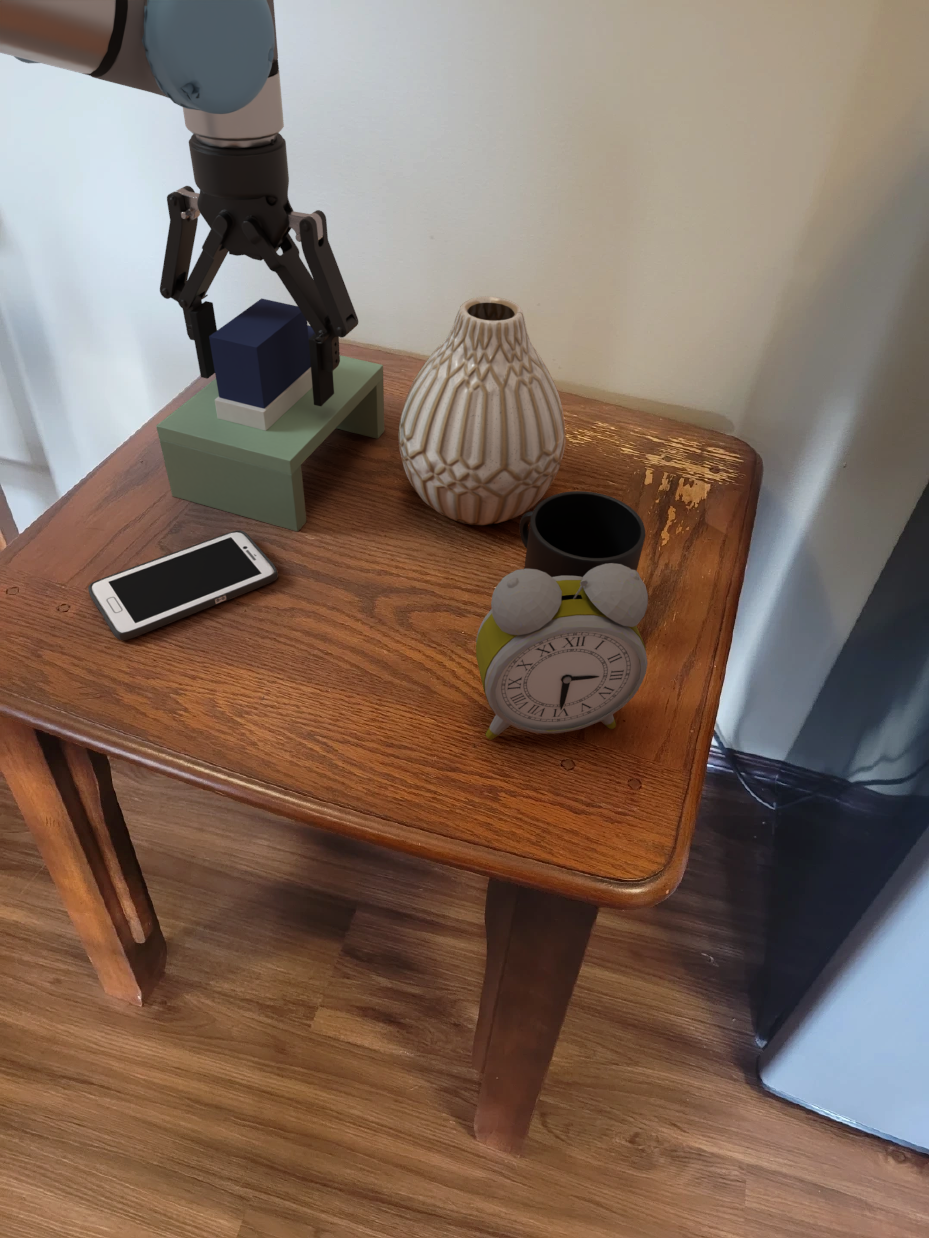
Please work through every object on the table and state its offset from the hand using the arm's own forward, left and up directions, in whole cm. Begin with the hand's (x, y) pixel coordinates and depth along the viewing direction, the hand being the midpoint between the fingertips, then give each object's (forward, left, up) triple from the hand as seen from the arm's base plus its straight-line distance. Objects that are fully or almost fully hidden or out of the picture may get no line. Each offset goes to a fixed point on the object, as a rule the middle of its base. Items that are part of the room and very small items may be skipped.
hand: (267, 385), depth 82 cm
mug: (+34, +4, -10) cm, 35 cm away
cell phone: (+9, -18, -10) cm, 22 cm away
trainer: (0, +1, -2) cm, 2 cm away
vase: (+19, +10, -10) cm, 23 cm away
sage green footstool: (0, +1, -10) cm, 10 cm away
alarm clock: (+41, -8, -10) cm, 42 cm away
